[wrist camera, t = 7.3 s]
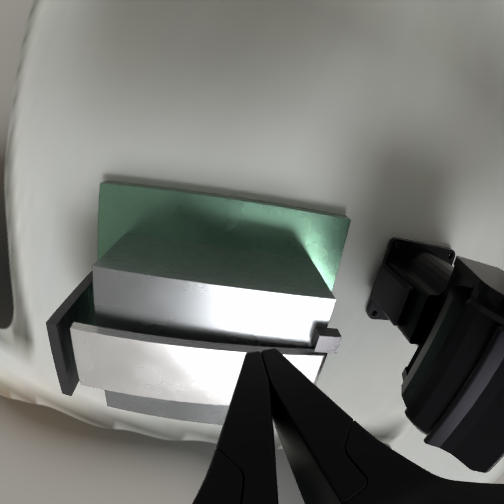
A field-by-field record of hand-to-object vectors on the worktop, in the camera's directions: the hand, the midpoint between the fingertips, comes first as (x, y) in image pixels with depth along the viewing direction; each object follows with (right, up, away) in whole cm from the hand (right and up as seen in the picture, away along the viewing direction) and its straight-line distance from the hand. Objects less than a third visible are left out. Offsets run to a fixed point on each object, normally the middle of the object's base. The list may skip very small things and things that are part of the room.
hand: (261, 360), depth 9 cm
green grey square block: (-3, -1, +14) cm, 14 cm away
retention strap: (-3, -3, +7) cm, 9 cm away
